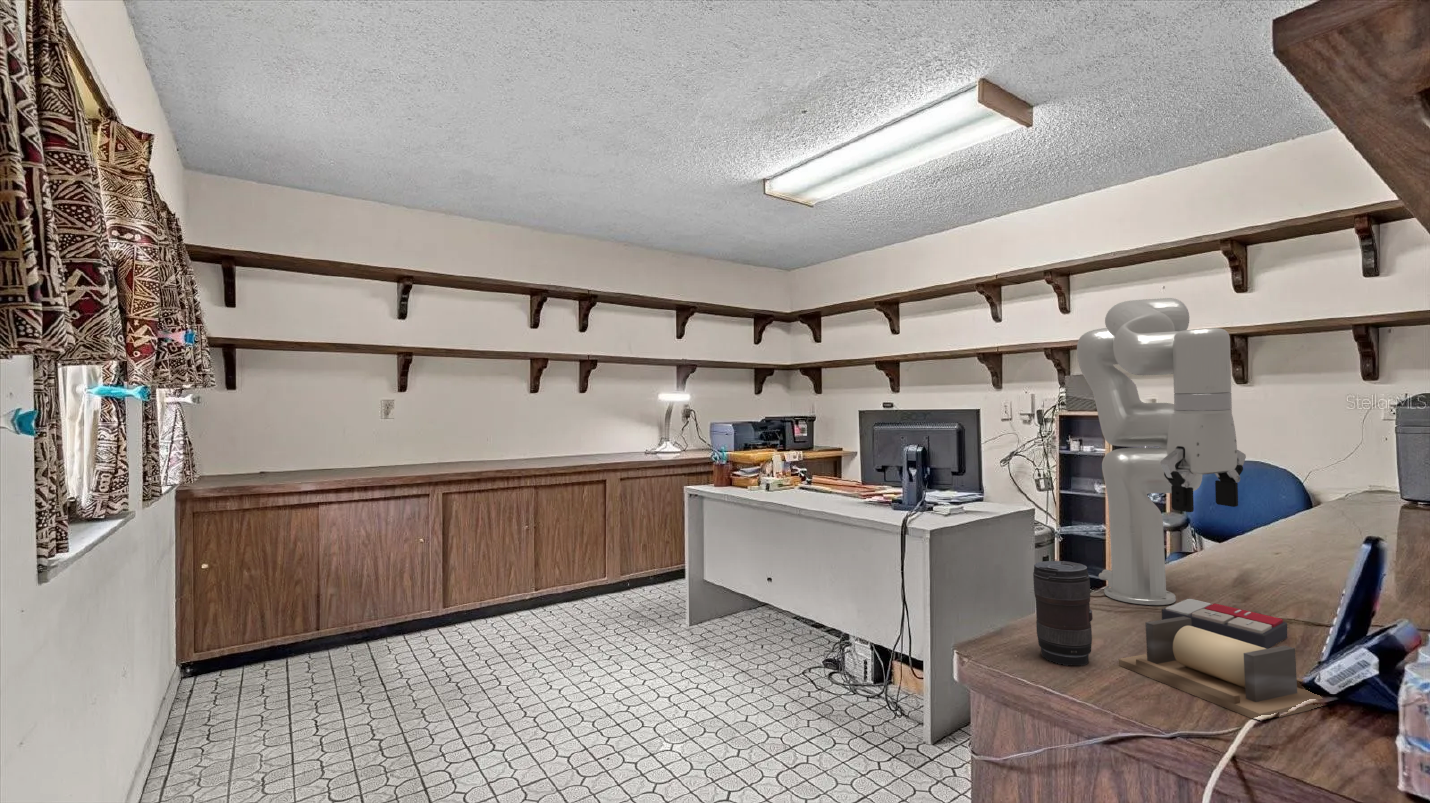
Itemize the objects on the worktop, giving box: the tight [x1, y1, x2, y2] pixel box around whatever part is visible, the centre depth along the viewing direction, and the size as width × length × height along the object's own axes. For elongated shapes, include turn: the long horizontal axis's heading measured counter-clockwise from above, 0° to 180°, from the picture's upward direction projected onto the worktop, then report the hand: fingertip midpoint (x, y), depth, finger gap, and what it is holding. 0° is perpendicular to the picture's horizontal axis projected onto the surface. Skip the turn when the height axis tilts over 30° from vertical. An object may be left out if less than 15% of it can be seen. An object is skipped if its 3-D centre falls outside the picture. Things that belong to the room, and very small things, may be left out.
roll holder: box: [1118, 616, 1323, 719], centre depth 93 cm, size 20×14×7 cm
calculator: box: [1161, 598, 1288, 649], centre depth 114 cm, size 11×4×15 cm
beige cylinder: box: [1173, 626, 1266, 688], centre depth 92 cm, size 10×6×6 cm
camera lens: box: [1032, 560, 1093, 666], centre depth 104 cm, size 8×8×15 cm
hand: (1205, 508), depth 106 cm, fingers open, 9 cm apart
